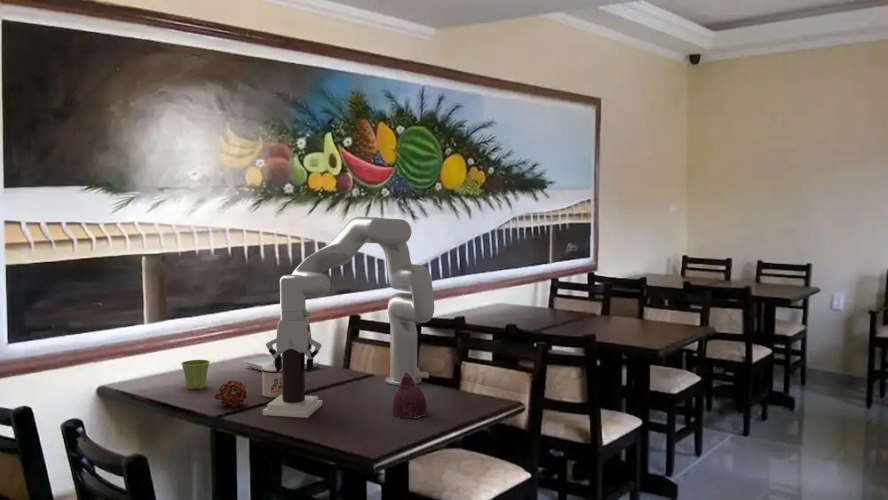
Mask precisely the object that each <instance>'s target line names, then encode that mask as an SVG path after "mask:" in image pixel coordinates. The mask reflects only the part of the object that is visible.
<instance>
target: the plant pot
mask: <svg viewBox="0 0 888 500" xmlns="http://www.w3.org/2000/svg"><path fill="white" fill-rule="evenodd" d="M210 363H211V361H210V360H208V359H190V360H185V361H182V362H181V363H180V366H182V370H183V373H184V379H185V384H186V385H185V386H186V389H188V390H195V389H199V390H200V389H203V388H206V384H207V377H208V368H209V364H210Z"/></svg>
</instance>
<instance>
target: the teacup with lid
mask: <svg viewBox="0 0 888 500" xmlns="http://www.w3.org/2000/svg"><path fill="white" fill-rule="evenodd" d="M261 372H262V375H261V376H262V395H263V397H267V398H274V399H276V398H277V397H279V396H280V395H282V369H281V370H279V371H276V368H275V359H274V360H273V362H272V363H270V364H268V365H266V366H264V367H263V368H262V371H261Z"/></svg>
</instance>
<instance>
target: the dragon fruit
mask: <svg viewBox="0 0 888 500" xmlns="http://www.w3.org/2000/svg"><path fill="white" fill-rule="evenodd" d="M216 393H217V394H214V395H213V396H214V397H213V398H214V399H215V400H219V401H221V404H222V405H223V406H224V407H227V406H229V407H233V408H236V407H238V406H239V405H240V404H243V402H244V400H245V399H247V398H248V394H247V390H246V388H245V385H244V384H243V383H242V382H239V380H233V379H229V380H228V381H227V382H226V383H223V384H221V385H220V386H219V387H218V390H217V391H216Z"/></svg>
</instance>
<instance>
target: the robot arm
mask: <svg viewBox="0 0 888 500" xmlns="http://www.w3.org/2000/svg"><path fill="white" fill-rule="evenodd" d="M411 236H412V227H411V225H410V223H409V222H408V221H407V220H405V219H402V218H385V217H374V216H372V217H371V216H356V217H353V218H351V219H350V220H349V221H348V222H347V223H346V225H345V226H344V227H343V228H342V229H341V230H340V232H338V233H337V235H336V236H335V237H334V238H333V239H332V240H331V241H330V242H329V244H327V245H326V246H324V247H322V248H320V249H319V250H317V251H316V252H314V253H311V254H310V255H309V256H307V257H306V258H304V259H303V260H302V261H301V262H300V263H299V264H298V266H296V268H295V269H294V270H293V272H292V273H291V274H285V275H282V276H281V277H280V279H279V295H280V296H279V297H280V298H279V299H280V319H279V320H278V322H277V327H276V336H275V337H276V338H274V339H272V340H270V341H268V342H267V343H265V346H266V348H267V350H268V352H269V353H270V355H271V356H273V358H275V368H276V371H279V370H281V369H282V357H281V356H280V355H281V354H282V353H283V352H284V351H286V350H287V349H291V348H292V349H294V350H296V351H298V352H300V353H304V354H305V357H306V358H308V359H307V360H306V363H307V369H306V373H310V372H311V371H312V370H313V369H314V367H313V360H314V358H315V357H316V355H317V354H319V353H320V350H321V348H322V343H320V342H318V341H316V340H315V339H313V338H312V331H311V325H310V320H309V318H307V317H311V312H310V311H307V307H306V306H307V305H306V298H320V297H324V296H326V295H327V294H328V293H329V292H330V289H331V287H332V286H331V279H330V278H329V277H328V276H327V275H326V274H324V272H326V271H328V270H331V269H335V268H338V267H341V266H344V265H346V264H348V263H349V262H350V261H351V260H352V259H353V258H354V257H355V255H356V254H357V253H358V251H359V250H360V249H361V248H362V247H363V246H364V245H365V244H377V245H379V246H380V247H381V248H382V250H383V254H384V257H385V263H386V271H387V280H388V283H389V286H390V287H391V288H392V289H394V290H396V291H403V292H397V293H394V294H393V295H392V296H391V297H389V299H388V302H387V313H388V318H389V326H390V327H389V329H390V333H389V336H390V337H389V338H390V339H389V340H390V341H389V342H390V347H389V348H390V352H389V354H390V356H389V361H390V363H389V369H390V371H389V376H387V377H385V383H387V384H389V385H392V386H393V385H396V386H399V384H400V382H401V381H402V378H403V375H404V374H405V372H406V373H408V374H409V375H410V376H411V377H412V379H413V380H414V382H415V383H416V384H417V385H418V384H420V383H421V382H422V379H429V377H430V373H429V372H427V371H421V370H420V367H418V330H417V326H416V323H427V322H429V321H431V319H432V318H433V316H434V313H435V300H434V289H433V281H432V276H431V274H430V271H429V269H427V268H426V266H424V265H421V264H413V263H412V261H411V255H410V249H409V246H408V244H407V242H408V241H410V238H411ZM408 292H410V293H408ZM290 338H291V341H293V344H288V343H289V341H290ZM274 344H276V345H275V347H276V349H275V348H274V346H273V345H274ZM290 345H294V346H290ZM313 347H314V350H313V351H312V350H311V349H313Z"/></svg>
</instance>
